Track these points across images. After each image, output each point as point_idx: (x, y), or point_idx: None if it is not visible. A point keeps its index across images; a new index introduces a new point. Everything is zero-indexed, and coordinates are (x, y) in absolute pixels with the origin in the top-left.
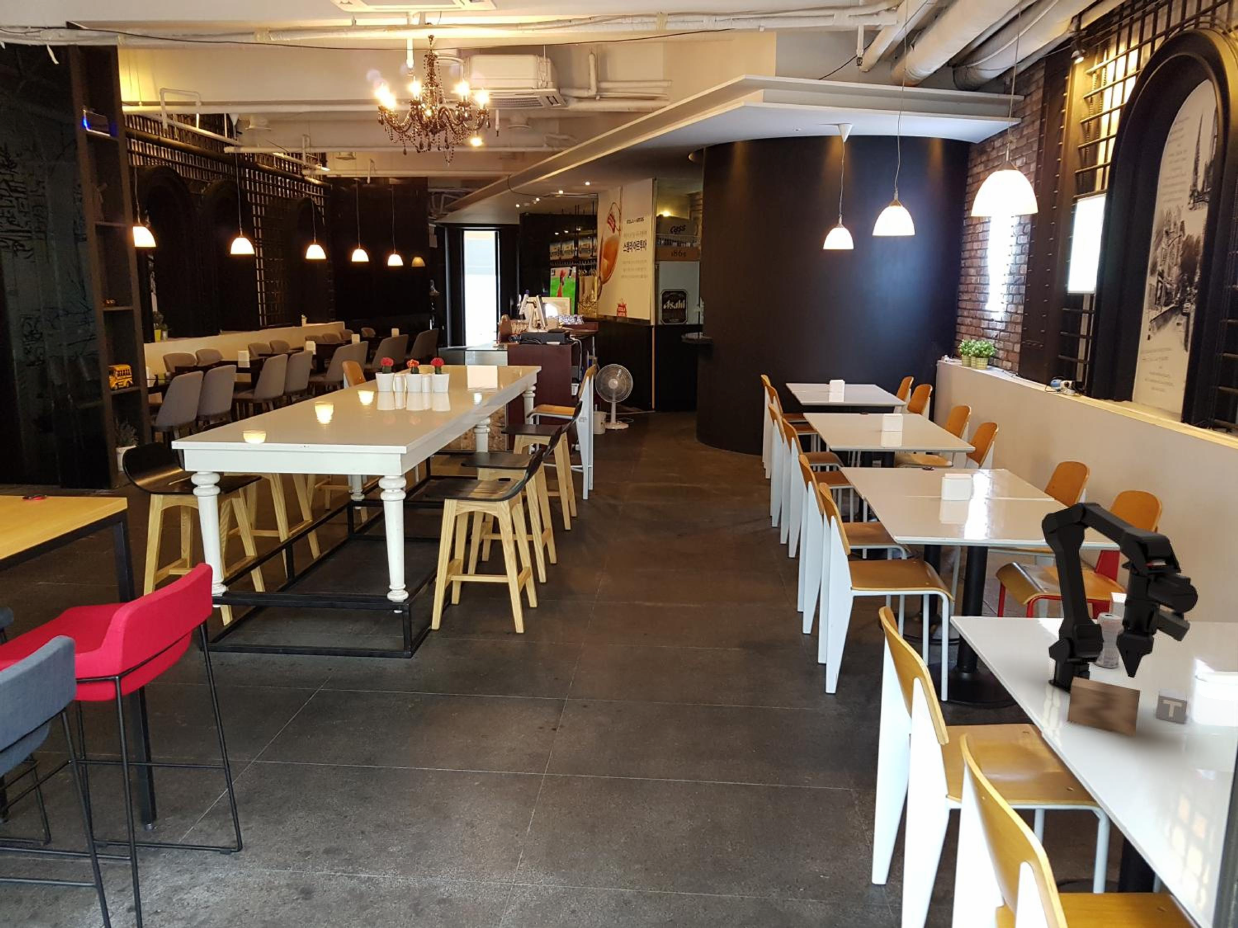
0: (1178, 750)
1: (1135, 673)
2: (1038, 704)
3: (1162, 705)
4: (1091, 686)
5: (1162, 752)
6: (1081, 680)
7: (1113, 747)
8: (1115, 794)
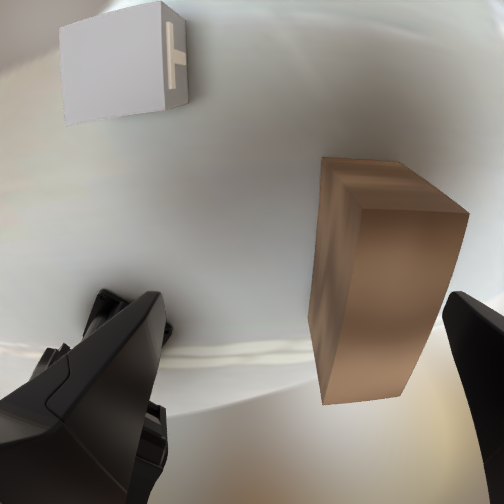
0: (430, 50)
1: (485, 305)
2: (297, 369)
3: (175, 89)
4: (394, 361)
5: (462, 97)
6: (348, 388)
7: (477, 213)
8: None
